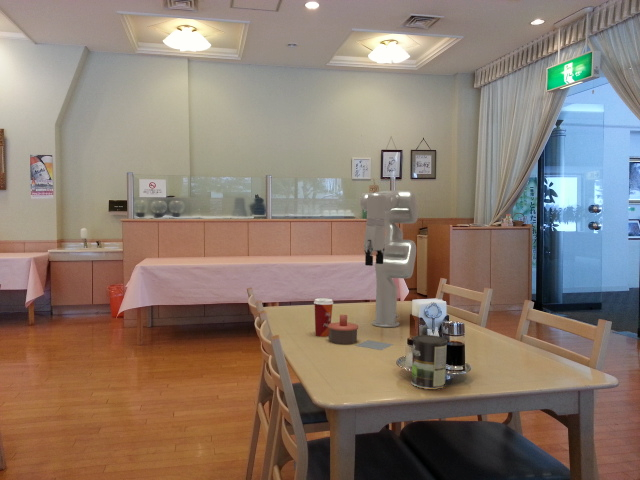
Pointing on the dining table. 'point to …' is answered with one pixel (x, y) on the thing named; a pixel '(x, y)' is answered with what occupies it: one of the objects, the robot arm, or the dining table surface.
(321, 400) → the dining table surface
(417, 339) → the coffee can
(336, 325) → the lid
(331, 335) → the bowl
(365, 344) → the mat
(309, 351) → the dining table surface
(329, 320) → the coffee cup
